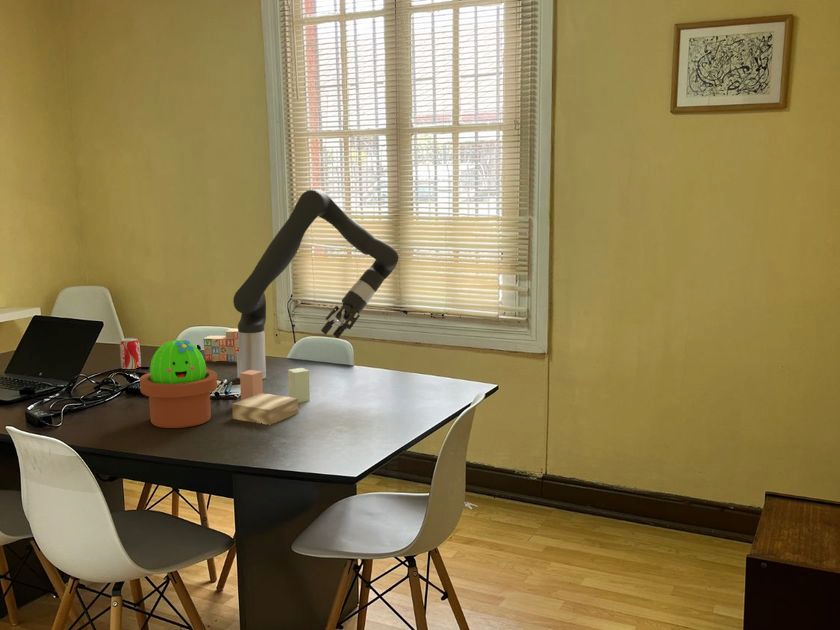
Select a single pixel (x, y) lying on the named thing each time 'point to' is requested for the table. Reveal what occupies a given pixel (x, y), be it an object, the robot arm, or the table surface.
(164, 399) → the potted cactus
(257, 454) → the table surface
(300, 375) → the sage-green block
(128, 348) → the soda can
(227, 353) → the stack of blocks
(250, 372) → the clay-red block
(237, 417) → the birch plinth block
